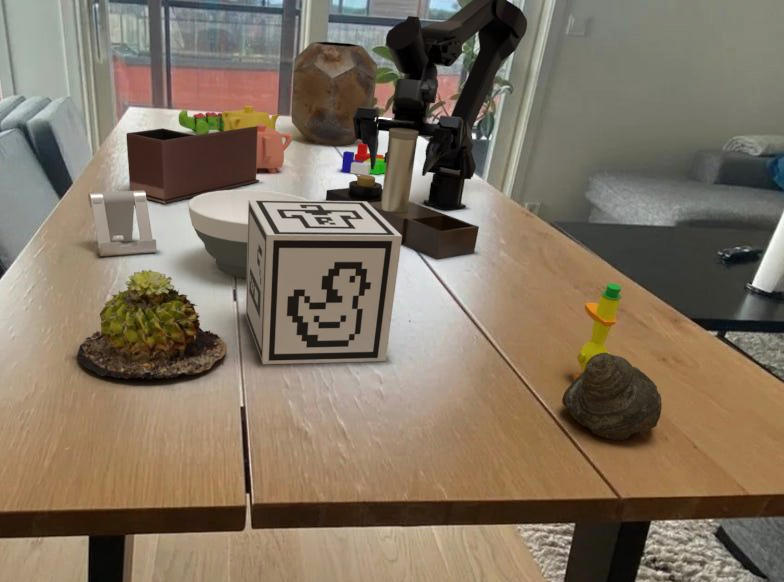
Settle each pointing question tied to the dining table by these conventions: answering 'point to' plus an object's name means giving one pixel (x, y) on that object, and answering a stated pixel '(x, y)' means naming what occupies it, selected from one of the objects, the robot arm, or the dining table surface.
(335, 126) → the planter
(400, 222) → the stepped brown tray
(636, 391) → the seashell
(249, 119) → the teapot
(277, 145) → the teapot
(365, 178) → the button
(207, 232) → the bowl
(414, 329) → the dining table surface
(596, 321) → the toy figure
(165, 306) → the cactus
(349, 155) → the building blocks
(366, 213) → the block
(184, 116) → the toy crocodile
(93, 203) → the tablet stand
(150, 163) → the desk organizer
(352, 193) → the yellow push button box
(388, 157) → the tin
